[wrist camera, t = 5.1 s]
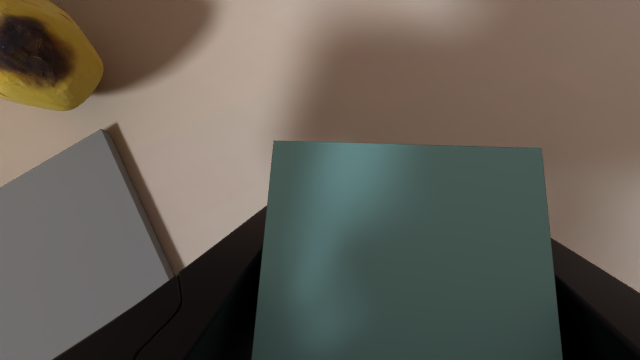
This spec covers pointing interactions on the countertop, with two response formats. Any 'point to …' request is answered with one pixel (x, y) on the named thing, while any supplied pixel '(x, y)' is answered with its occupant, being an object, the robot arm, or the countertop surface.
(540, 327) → the teal block
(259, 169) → the countertop surface
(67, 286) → the slate mat
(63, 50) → the banana
